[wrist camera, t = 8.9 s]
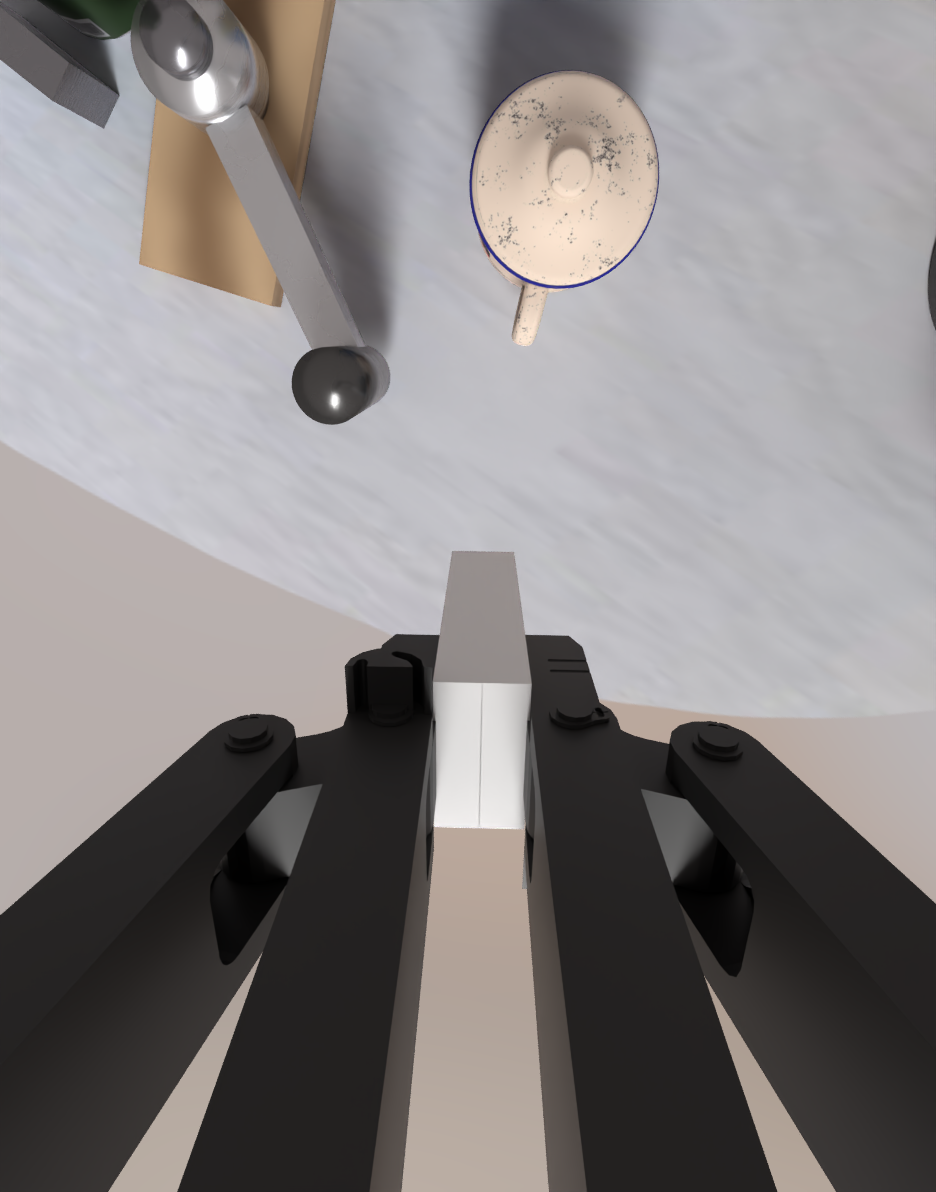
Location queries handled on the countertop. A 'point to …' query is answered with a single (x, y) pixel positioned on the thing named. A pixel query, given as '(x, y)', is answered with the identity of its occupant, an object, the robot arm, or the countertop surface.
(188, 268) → the press bench
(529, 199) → the teacup with lid
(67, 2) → the green drink can
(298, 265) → the lever
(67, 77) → the pivot and anvil
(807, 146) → the countertop surface
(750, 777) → the robot arm
